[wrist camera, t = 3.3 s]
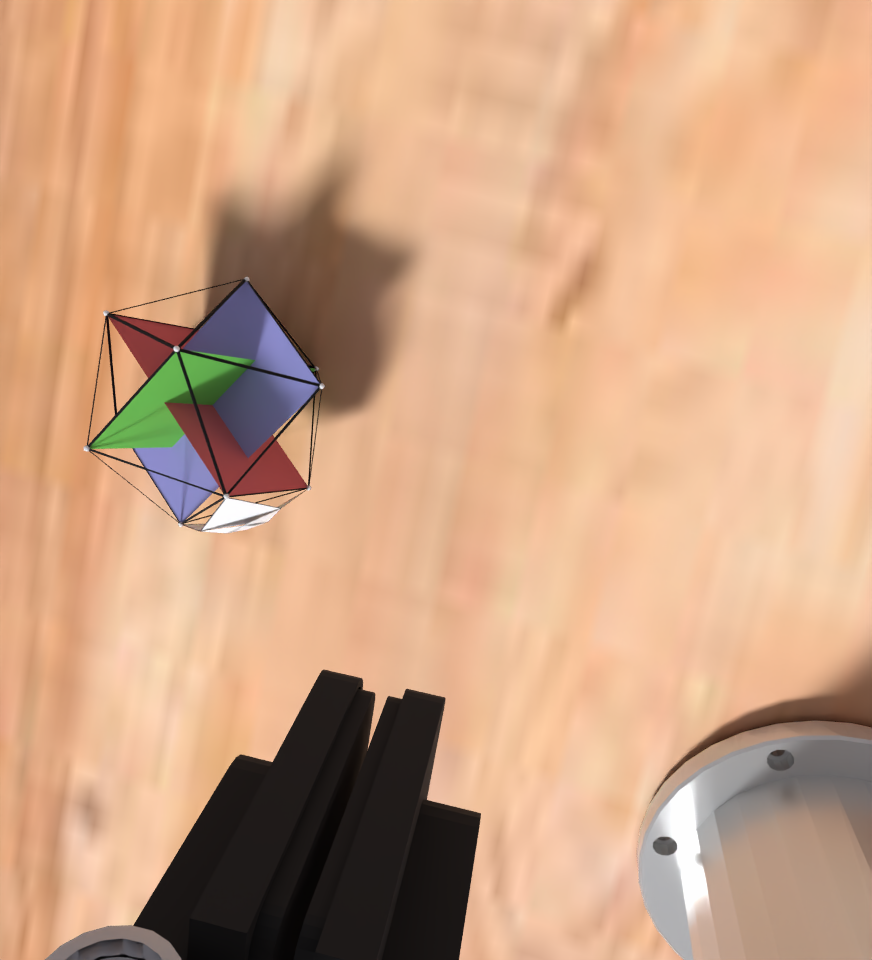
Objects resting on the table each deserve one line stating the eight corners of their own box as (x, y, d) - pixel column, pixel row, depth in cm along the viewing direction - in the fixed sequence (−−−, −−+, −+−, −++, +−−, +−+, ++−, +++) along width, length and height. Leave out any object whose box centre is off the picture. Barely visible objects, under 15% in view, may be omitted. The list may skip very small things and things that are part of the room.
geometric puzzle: (42, 345, 26) (28, 528, 21) (169, 189, 24) (190, 351, 18) (225, 436, 31) (251, 604, 25) (346, 314, 28) (402, 471, 23)
